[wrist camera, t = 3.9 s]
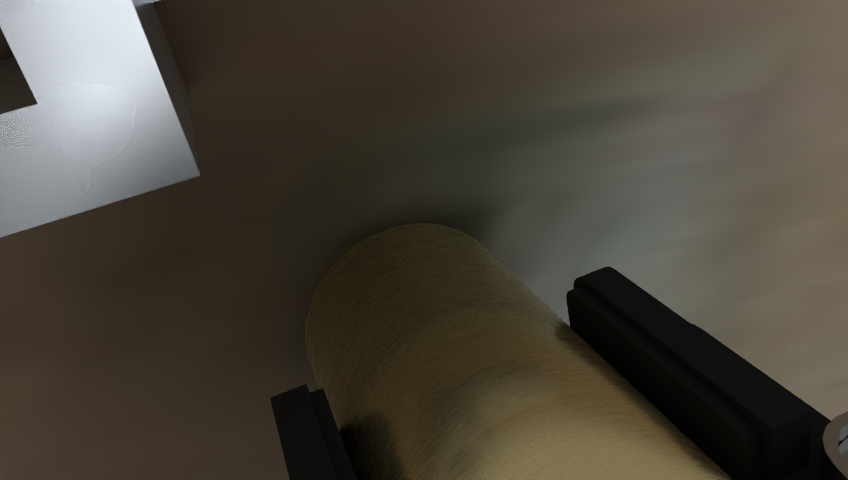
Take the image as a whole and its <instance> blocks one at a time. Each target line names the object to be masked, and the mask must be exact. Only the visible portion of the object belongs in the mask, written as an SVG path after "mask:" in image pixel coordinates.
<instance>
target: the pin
mask: <svg viewBox="0 0 848 480" xmlns="http://www.w3.org/2000/svg"><path fill="white" fill-rule="evenodd" d="M304 334H305V346H306V351H307V356H308V359H309V362H310V365H311V367H312V370H313V373H314V376H315V379H316V381H317V384H318V387H319V389H321V388H323V389H324V392H325V394H326V397H327V400H328V403H329V405H330V408H331V411H332V414H333V416H334V419H335V422H336V425H337V427H338V430H339V433H340V435H341V438H342V441H343V444H344V446H345V449H346V452H347V455H348V457H349V460H350V463H351V466H352V468H353V471H354V474H355V477H356V479H357V480H733V479H732V478H731V477H730V476H728V475H727V474H726V473H725V472H724V471H723V470H722V469H721V468H720V467H719V466H718V465H717V464H716V463H715V462H713V461H712V460H711V459H710V458H709V457H708V456H707V455H706V454H705V453H704V452H703V451H702V450H701V449H700V448H698V447H697V446H696V445H695V444H694V443H693V442H692V441H691V440H690V439H689V438H688V437H687V436H686V435H685V434H684V433H682V432H681V431H680V430H679V429H678V428H677V427H676V426H675V425H674V424H673V423H672V422H671V421H670V420H669V419H667V418H666V417H665V416H664V415H663V414H662V413H661V412H660V411H659V410H658V409H657V408H656V407H655V406H654V405H652V404H651V403H650V402H649V401H648V400H647V399H646V398H645V397H644V396H643V395H642V394H641V393H640V392H639V391H638V390H636V389H635V388H634V387H633V386H632V385H631V384H630V383H629V382H628V381H627V380H626V379H625V378H624V377H623V376H621V375H620V374H619V373H618V372H617V371H616V370H615V369H614V368H613V367H612V366H611V365H610V364H609V363H608V362H606V361H605V360H604V359H603V358H602V357H601V356H600V355H599V354H598V353H597V352H596V351H595V350H594V349H593V348H592V347H590V346H589V345H588V344H587V343H586V342H585V341H584V340H583V339H582V338H581V337H580V336H579V335H578V334H577V333H575V332H574V331H573V330H572V329H571V328H570V327H569V326H568V325H567V324H566V323H565V322H564V321H563V320H562V319H560V318H559V317H558V316H557V315H556V314H555V313H554V312H553V311H552V310H551V309H550V308H549V307H548V306H547V305H545V304H544V303H543V302H542V301H541V300H540V299H539V298H538V297H537V296H536V295H535V294H534V293H533V292H532V291H531V290H529V289H528V288H527V287H526V286H525V285H524V284H523V283H522V282H521V281H520V280H519V279H518V278H517V277H516V276H514V275H513V274H512V273H511V272H510V271H509V270H508V269H507V268H506V267H505V266H504V265H503V264H502V263H501V262H499V261H498V260H497V259H496V258H495V257H494V256H493V255H492V254H491V253H490V252H489V251H488V250H487V249H486V248H484V247H483V246H482V245H481V244H480V243H479V242H478V241H477V240H475V239H474V238H472V237H471V236H469V235H468V234H466V233H464V232H462V231H459V230H457V229H455V228H451V227H448V226H445V225H438V224H432V223H415V224H406V225H400V226H396V227H392V228H389V229H386V230H383V231H381V232H378V233H375V234H373V235H371V236H370V237H368V238H366V239H364V240H362V241H360V242H359V243H358V244H356V245H355V246H353V247H352V248H350V249H349V250H348V251H347V252H345V253H344V254H343V255H342V256H341V257H340V258H339V259H338V260H337V261H336V262H335V263H334V264H333V265H332V266H331V267H330V268H329V270H328V271H327V272H326V274H325V275H324V277H323V278H322V279H321V281H320V283H319V284H318V286H317V288H316V290H315V292H314V294H313V296H312V299H311V301H310V304H309V307H308V311H307V315H306V320H305V331H304Z"/></svg>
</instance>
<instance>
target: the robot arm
mask: <svg viewBox="0 0 848 480" xmlns="http://www.w3.org/2000/svg"><path fill="white" fill-rule="evenodd" d="M566 297H567V306H568V314H569V321H570V328H571V329H572V330H573V331H574V332H575V333H577V334H578V335H579V336H580V337H581V338H582V339H583V340H584V341H585V342H586V343H587V344H588V345H589V346H590V347H592V348H593V349H594V350H595V351H596V352H597V353H598V354H599V355H600V356H601V357H602V358H603V359H604V360H605V361H606V362H608V363H609V364H610V365H611V366H612V367H613V368H614V369H615V370H616V371H617V372H618V373H619V374H620V375H621V376H623V377H624V378H625V379H626V380H627V381H628V382H629V383H630V384H631V385H632V386H633V387H634V388H635V389H636V390H638V391H639V392H640V393H641V394H642V395H643V396H644V397H645V398H646V399H647V400H648V401H649V402H650V403H651V404H652V405H654V406H655V407H656V408H657V409H658V410H659V411H660V412H661V413H662V414H663V415H664V416H665V417H666V418H667V419H669V420H670V421H671V422H672V423H673V424H674V425H675V426H676V427H677V428H678V429H679V430H680V431H681V432H682V433H684V434H685V435H686V436H687V437H688V438H689V439H690V440H691V441H692V442H693V443H694V444H695V445H696V446H697V447H698V448H700V449H701V450H702V451H703V452H704V453H705V454H706V455H707V456H708V457H709V458H710V459H711V460H712V461H713V462H715V463H716V464H717V465H718V466H719V467H720V468H721V469H722V470H723V471H724V472H725V473H726V474H727V475H728V476H730V477H731V478H732V479H733V480H848V412H846V413H843V414H841V415H839V416H837V417H835V418H834V419H833V420H832V421H830V420H829V419H828V418H826V417H825V416H823V415H822V414H821V413H819V412H818V411H816V410H815V409H814V408H812V407H811V406H809V405H808V404H807V403H805V402H804V401H802V400H801V399H800V398H798V397H797V396H795V395H794V394H792V393H791V392H790V391H788V390H787V389H785V388H784V387H783V386H781V385H780V384H778V383H777V382H776V381H774V380H773V379H771V378H770V377H769V376H767V375H766V374H764V373H763V372H762V371H760V370H759V369H757V368H756V367H754V366H753V365H752V364H750V363H749V362H747V361H746V360H745V359H743V358H742V357H740V356H739V355H738V354H736V353H735V352H733V351H732V350H731V349H729V348H728V347H726V346H725V345H724V344H722V343H721V342H719V341H718V340H717V339H715V338H714V337H712V336H711V335H709V334H708V333H707V332H705V331H704V330H702V329H701V328H699V327H697V326H696V325H694V324H691V323H689V322H688V321H686V320H685V319H683V318H682V317H681V316H679V315H678V314H676V313H675V312H674V311H672V310H671V309H669V308H668V307H667V306H665V305H664V304H662V303H661V302H660V301H658V300H657V299H655V298H654V297H653V296H651V295H650V294H648V293H647V292H646V291H644V290H643V289H641V288H640V287H639V286H637V285H636V284H634V283H633V282H632V281H630V280H629V279H627V278H626V277H625V276H623V275H622V274H620V273H619V272H618V271H616V270H615V269H613V268H611V267H604V268H602V269H599V270H596V271H594V272H591V273H589V274H586V275H584V276H581V277H578V278H577V279H576V280H575V281H574V289H573V290H570V291H568V292H567V296H566ZM271 403H272V407H273V412H274V416H275V420H276V424H277V428H278V432H279V437H280V441H281V445H282V449H283V453H284V457H285V462H286V466H287V470H288V474H289V478H290V480H357V479H356V477H355V474H354V471H353V468H352V466H351V463H350V460H349V457H348V455H347V452H346V449H345V446H344V444H343V441H342V438H341V435H340V433H339V430H338V427H337V425H336V422H335V419H334V416H333V414H332V411H331V408H330V405H329V403H328V400H327V397H326V394H325V392H324V389H323V388H321V389H319V390H316V391H314V392H311V393H309V390H308V388H307V385H306V384H304V385H302V386H299V387H297V388H294V389H292V390H289V391H286V392H284V393H281V394H279V395H276V396H274V397H271Z"/></svg>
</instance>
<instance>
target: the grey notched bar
mask: <svg viewBox="0 0 848 480" xmlns="http://www.w3.org/2000/svg"><path fill="white" fill-rule="evenodd" d="M155 1H159V0H0V28H1V30H2V32H3V34H4V36H5V38H6V40H7V42H8V44H9V46H10V48H11V50H12V52H13V54H14V56H12V57H8V58H4V59H0V237H4V236H7V235H10V234H13V233H16V232H20V231H23V230H26V229H29V228H33V227H36V226H39V225H42V224H46V223H49V222H52V221H55V220H58V219H62V218H65V217H68V216H71V215H75V214H78V213H81V212H84V211H88V210H91V209H94V208H97V207H100V206H104V205H107V204H110V203H113V202H117V201H120V200H123V199H126V198H130V197H133V196H136V195H139V194H142V193H146V192H149V191H152V190H155V189H159V188H162V187H165V186H168V185H172V184H175V183H178V182H181V181H184V180H188V179H191V178H194V177H197V176H200V170H199V163H198V156H197V150H196V143H195V137H194V130H193V123H192V117H191V110H190V103H189V97H188V92H187V90H186V87H185V84H184V82H183V79H182V76H181V74H180V71H179V68H178V66H177V63H176V60H175V58H174V55H173V52H172V50H171V47H170V45H169V42H168V39H167V37H166V34H165V31H164V29H163V26H162V23H161V21H160V18H159V15H158V13H157V10H156V8H155V5H154V2H155Z"/></svg>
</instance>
